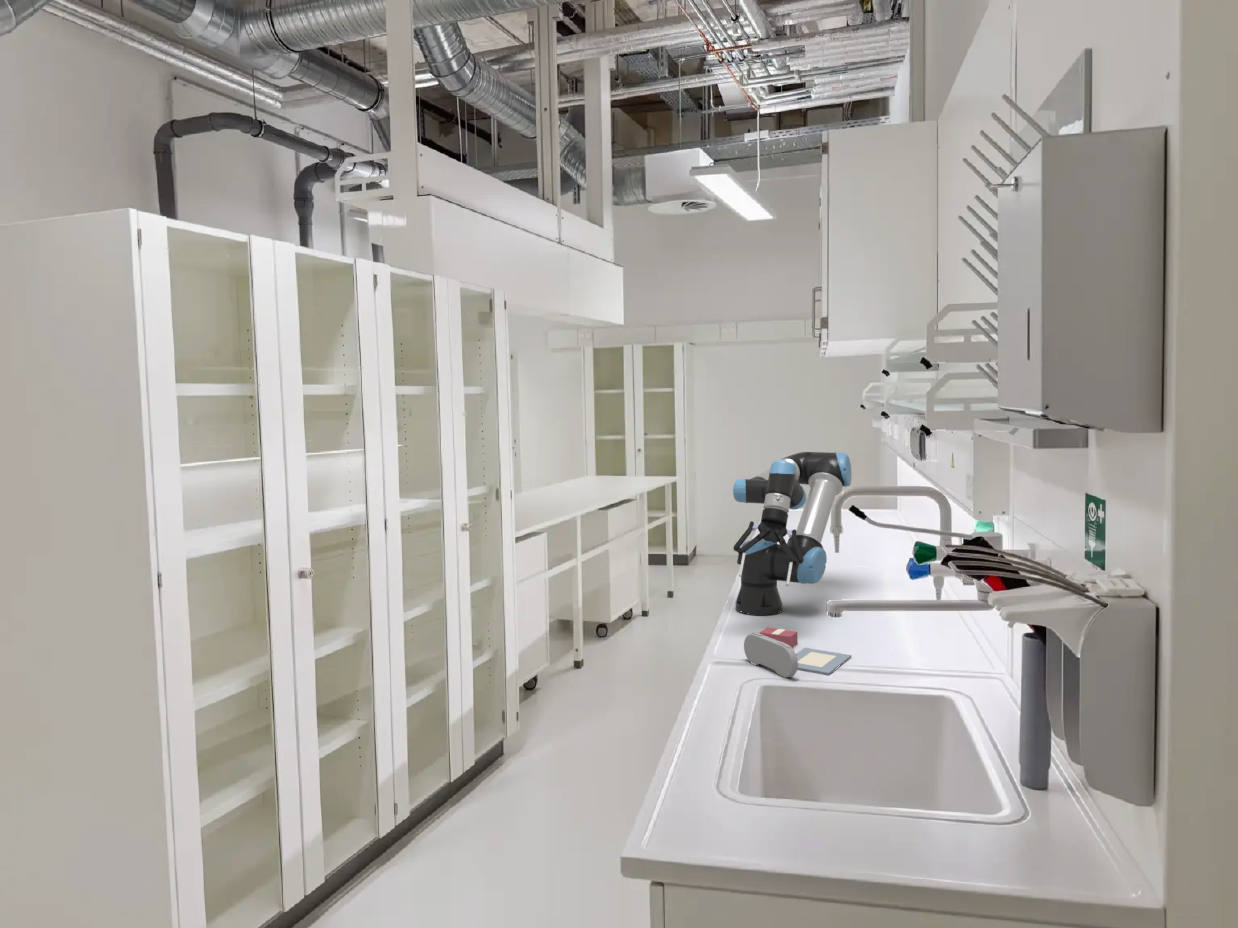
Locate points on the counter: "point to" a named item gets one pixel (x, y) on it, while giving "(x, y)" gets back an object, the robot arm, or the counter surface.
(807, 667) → the grey flat board
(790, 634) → the card deck box
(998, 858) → the counter surface
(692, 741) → the counter surface
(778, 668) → the game controller
